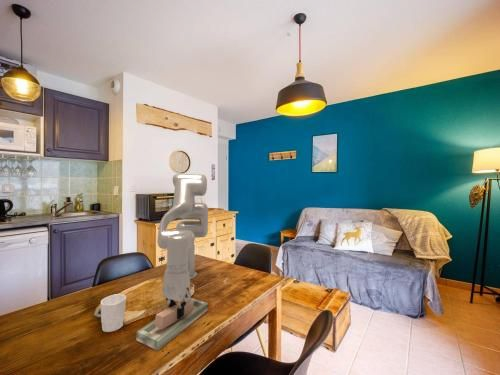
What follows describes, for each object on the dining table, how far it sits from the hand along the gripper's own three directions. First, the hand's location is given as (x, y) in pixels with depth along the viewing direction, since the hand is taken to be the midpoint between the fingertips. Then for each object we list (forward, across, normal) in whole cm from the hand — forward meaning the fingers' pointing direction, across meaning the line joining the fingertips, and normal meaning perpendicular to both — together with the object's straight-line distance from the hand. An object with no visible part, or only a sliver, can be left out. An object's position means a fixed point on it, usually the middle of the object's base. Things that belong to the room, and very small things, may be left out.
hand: (176, 315), depth 84 cm
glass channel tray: (+3, 0, 0) cm, 3 cm away
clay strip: (+1, 0, -1) cm, 1 cm away
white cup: (+3, -19, -12) cm, 23 cm away
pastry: (+4, -31, -7) cm, 32 cm away
